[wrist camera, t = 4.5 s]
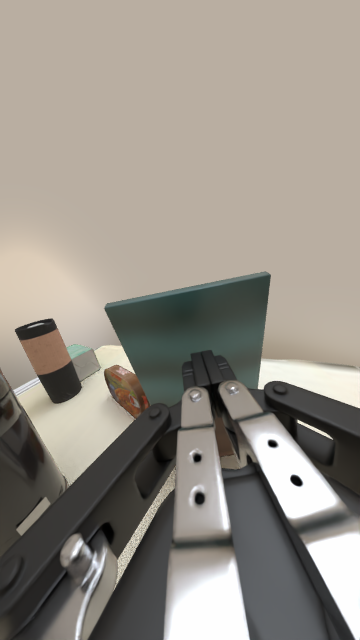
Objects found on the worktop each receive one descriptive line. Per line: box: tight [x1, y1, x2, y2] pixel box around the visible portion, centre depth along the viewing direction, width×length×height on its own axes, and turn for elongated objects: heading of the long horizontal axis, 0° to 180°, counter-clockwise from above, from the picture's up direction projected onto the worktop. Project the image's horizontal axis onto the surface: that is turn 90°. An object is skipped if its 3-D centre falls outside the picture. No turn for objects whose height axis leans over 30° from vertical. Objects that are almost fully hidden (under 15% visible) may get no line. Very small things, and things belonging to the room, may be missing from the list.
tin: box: [104, 365, 150, 418], centre depth 38 cm, size 15×3×8 cm, turn 46°
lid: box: [105, 272, 271, 408], centre depth 18 cm, size 16×13×1 cm
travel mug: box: [15, 319, 82, 403], centre depth 45 cm, size 8×8×20 cm
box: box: [67, 344, 100, 381], centre depth 57 cm, size 7×14×8 cm, turn 54°
